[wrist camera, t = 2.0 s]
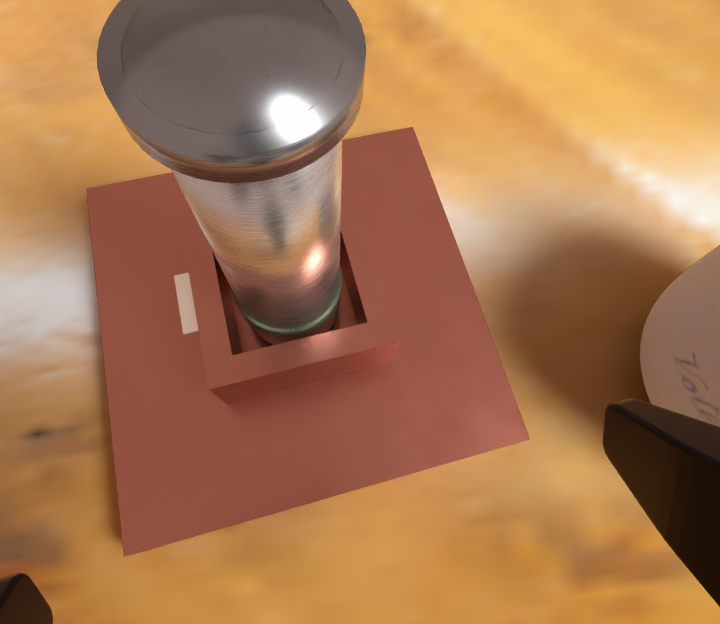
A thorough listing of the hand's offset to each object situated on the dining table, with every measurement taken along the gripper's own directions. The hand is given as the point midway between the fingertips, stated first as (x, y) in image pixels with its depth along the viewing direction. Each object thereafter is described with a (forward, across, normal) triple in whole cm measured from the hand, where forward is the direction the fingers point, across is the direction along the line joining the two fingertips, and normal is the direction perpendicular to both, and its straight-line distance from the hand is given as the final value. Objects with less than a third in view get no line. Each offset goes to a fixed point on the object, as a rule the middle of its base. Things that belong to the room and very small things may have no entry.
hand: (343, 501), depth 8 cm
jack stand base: (+15, 0, +4) cm, 16 cm away
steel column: (+14, 0, +3) cm, 14 cm away
